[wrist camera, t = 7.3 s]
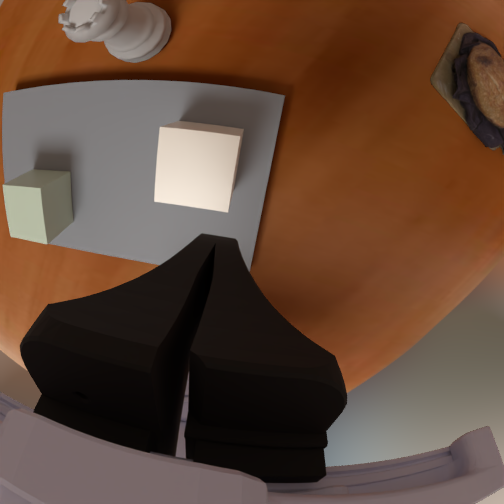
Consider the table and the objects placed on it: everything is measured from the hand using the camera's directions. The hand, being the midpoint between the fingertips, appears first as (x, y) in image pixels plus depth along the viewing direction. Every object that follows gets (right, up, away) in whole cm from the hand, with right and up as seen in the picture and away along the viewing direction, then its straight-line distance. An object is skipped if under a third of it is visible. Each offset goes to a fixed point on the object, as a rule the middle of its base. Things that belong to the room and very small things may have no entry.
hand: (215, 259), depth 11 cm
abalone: (+20, +13, +5) cm, 25 cm away
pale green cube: (-14, +5, +8) cm, 17 cm away
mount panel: (-9, +6, +9) cm, 14 cm away
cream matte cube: (-1, +6, +7) cm, 9 cm away
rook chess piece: (-6, +15, +4) cm, 17 cm away
